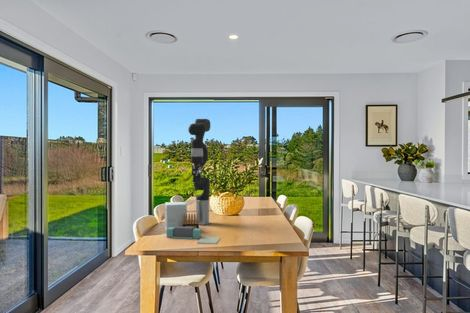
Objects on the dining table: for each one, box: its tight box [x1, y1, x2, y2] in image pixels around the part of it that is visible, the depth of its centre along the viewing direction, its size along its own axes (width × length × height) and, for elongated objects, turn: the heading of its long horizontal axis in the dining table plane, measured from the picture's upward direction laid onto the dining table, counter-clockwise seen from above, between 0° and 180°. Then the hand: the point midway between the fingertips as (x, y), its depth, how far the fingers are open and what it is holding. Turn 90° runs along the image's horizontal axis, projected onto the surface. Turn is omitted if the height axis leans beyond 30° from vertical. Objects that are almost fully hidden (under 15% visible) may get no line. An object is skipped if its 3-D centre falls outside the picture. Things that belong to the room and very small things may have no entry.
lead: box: [174, 226, 194, 239], centre depth 198 cm, size 4×11×6 cm, turn 82°
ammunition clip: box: [182, 212, 200, 229], centre depth 211 cm, size 11×2×12 cm, turn 96°
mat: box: [196, 236, 221, 245], centre depth 189 cm, size 12×11×1 cm
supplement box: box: [164, 201, 188, 233], centre depth 218 cm, size 13×13×18 cm
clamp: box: [166, 227, 202, 240], centre depth 197 cm, size 8×20×5 cm, turn 81°
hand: (196, 181), depth 203 cm, fingers open, 8 cm apart
